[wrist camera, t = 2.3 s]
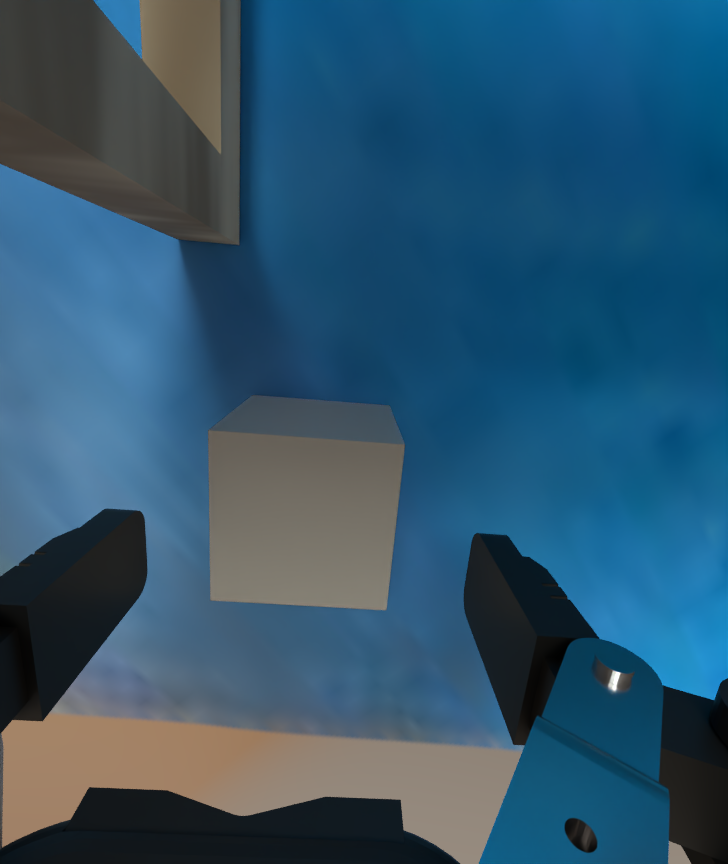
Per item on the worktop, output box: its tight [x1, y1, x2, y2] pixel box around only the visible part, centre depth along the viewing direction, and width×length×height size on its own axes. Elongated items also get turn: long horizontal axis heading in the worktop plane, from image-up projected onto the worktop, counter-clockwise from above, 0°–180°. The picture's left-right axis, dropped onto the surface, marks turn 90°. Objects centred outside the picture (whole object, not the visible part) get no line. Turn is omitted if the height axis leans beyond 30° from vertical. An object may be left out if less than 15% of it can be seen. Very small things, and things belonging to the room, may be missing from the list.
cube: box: [208, 395, 405, 610], centre depth 14 cm, size 5×5×5 cm
